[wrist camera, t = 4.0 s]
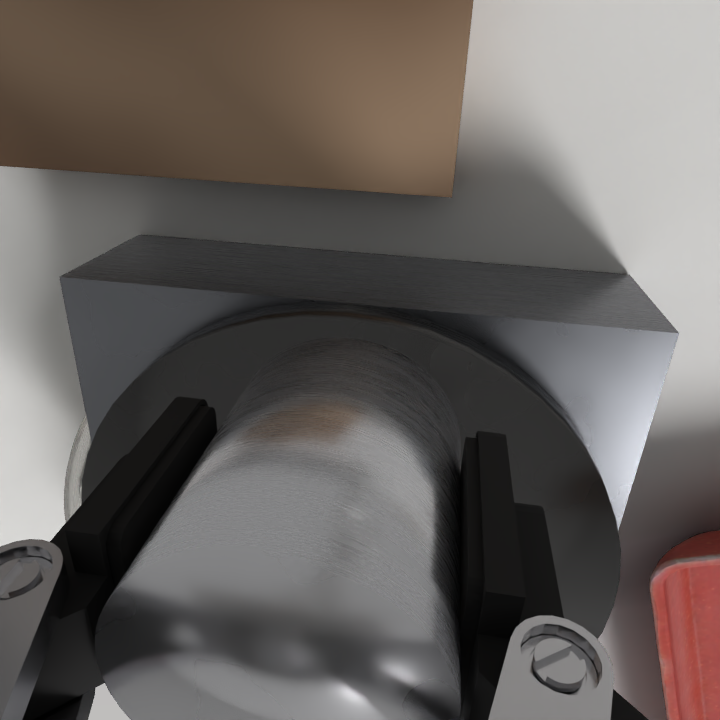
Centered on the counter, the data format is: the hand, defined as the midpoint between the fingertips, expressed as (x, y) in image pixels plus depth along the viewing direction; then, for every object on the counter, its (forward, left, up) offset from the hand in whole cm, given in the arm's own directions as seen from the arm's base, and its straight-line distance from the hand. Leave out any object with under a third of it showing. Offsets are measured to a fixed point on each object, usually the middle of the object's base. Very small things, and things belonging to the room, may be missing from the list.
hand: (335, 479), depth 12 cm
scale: (+4, 0, -7) cm, 8 cm away
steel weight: (0, 0, -1) cm, 1 cm away
